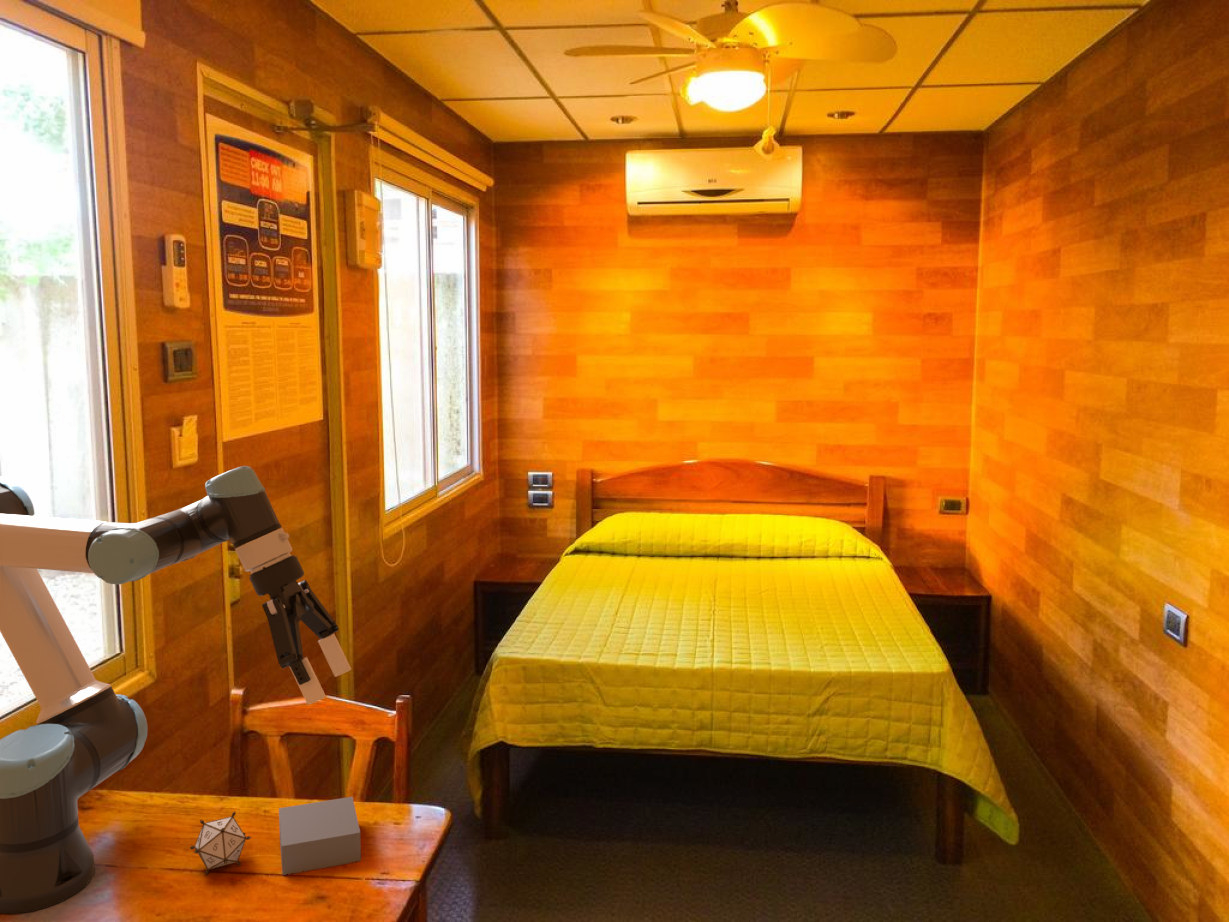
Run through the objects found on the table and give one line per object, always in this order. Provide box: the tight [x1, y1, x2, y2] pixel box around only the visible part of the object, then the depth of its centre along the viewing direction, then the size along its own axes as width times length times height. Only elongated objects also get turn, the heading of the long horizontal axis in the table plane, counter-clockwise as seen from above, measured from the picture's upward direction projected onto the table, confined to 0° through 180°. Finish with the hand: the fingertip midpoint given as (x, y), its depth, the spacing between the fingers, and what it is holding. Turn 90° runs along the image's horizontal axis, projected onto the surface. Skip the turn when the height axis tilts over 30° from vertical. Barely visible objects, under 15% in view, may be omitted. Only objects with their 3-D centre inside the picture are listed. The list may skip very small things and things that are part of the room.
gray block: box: [278, 796, 362, 876], centre depth 154 cm, size 12×12×5 cm
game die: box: [189, 811, 252, 876], centre depth 149 cm, size 9×8×10 cm
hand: (330, 686), depth 145 cm, fingers open, 13 cm apart
